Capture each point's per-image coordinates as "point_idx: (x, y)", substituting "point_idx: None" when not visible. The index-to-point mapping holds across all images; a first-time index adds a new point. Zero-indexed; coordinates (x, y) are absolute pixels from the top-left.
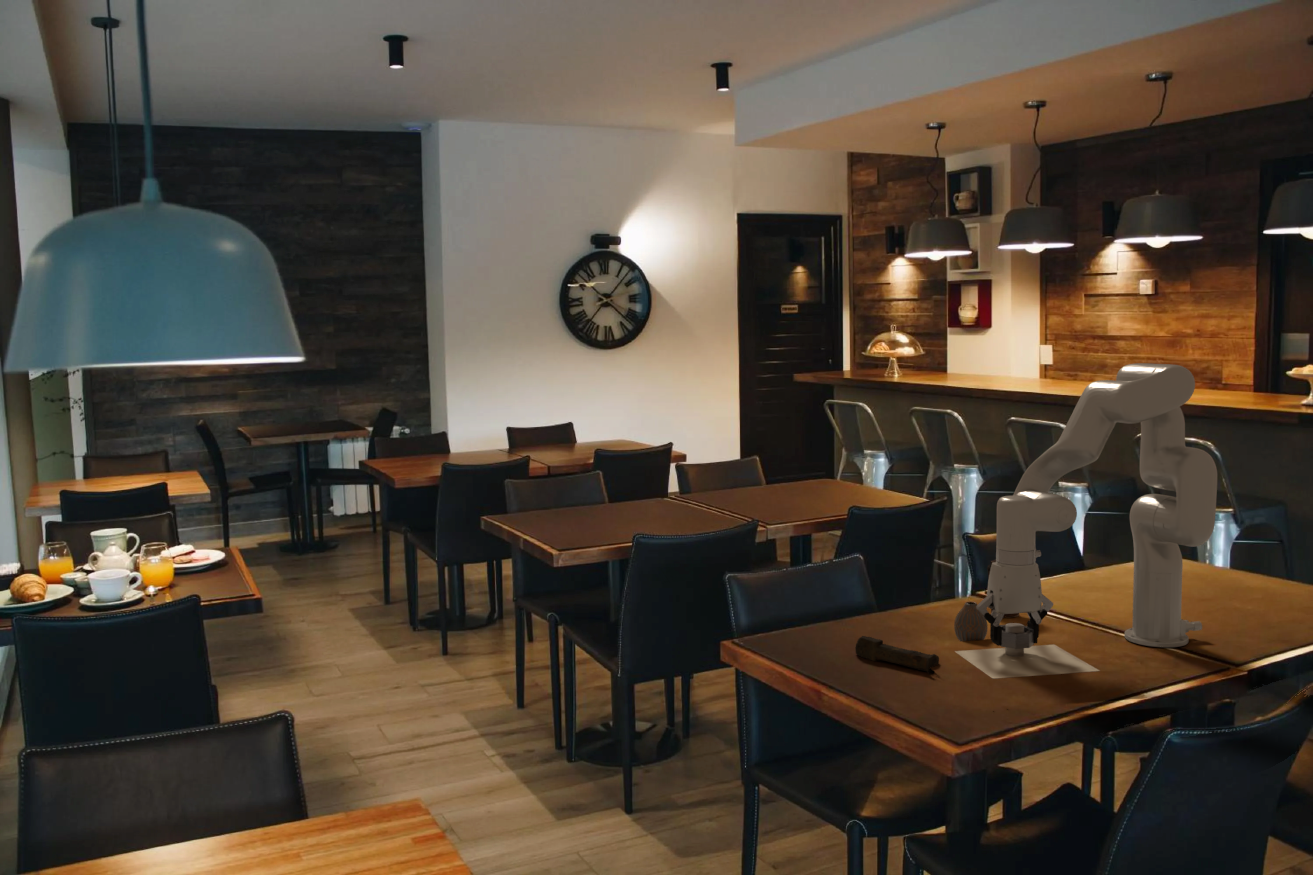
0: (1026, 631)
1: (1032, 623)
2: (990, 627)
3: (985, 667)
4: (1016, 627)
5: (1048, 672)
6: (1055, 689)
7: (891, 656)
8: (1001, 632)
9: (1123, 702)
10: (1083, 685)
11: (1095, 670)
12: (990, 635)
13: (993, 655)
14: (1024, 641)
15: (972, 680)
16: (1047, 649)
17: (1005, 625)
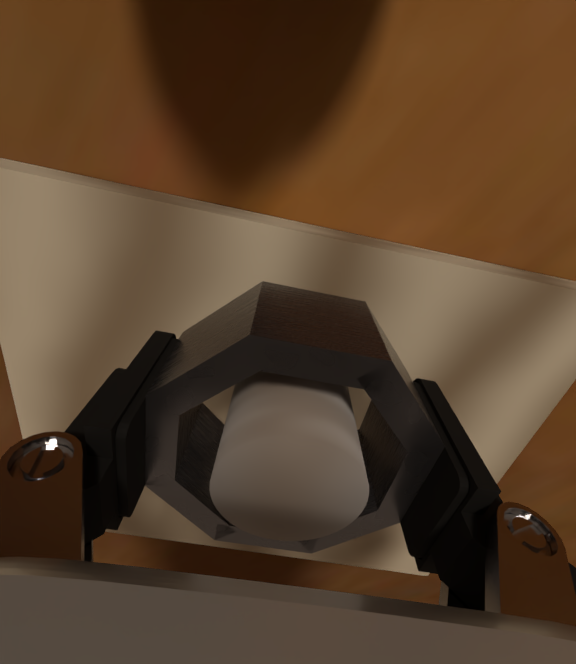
0: (388, 453)
1: (436, 539)
2: (71, 425)
3: None
4: (264, 527)
5: None
6: (231, 560)
7: None
8: (144, 480)
9: None
10: (326, 565)
11: (416, 571)
12: (108, 381)
13: (173, 329)
14: None
15: (6, 442)
16: (507, 356)
17: (288, 366)
